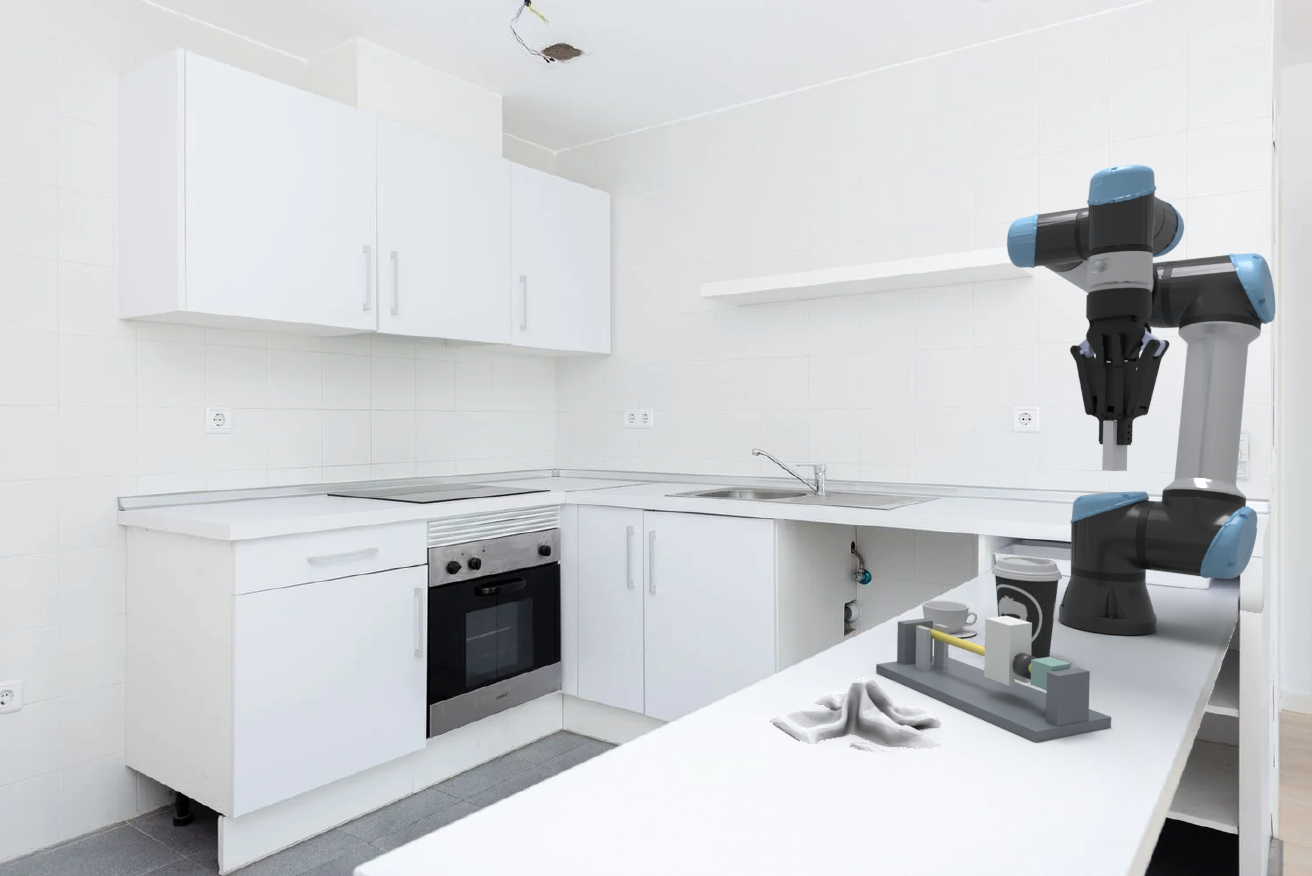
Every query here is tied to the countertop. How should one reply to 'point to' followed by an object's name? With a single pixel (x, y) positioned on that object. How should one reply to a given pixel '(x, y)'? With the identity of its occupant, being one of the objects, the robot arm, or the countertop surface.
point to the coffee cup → (1029, 596)
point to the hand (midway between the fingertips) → (1114, 470)
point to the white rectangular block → (1005, 647)
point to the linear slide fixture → (995, 685)
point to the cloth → (862, 719)
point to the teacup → (950, 616)
